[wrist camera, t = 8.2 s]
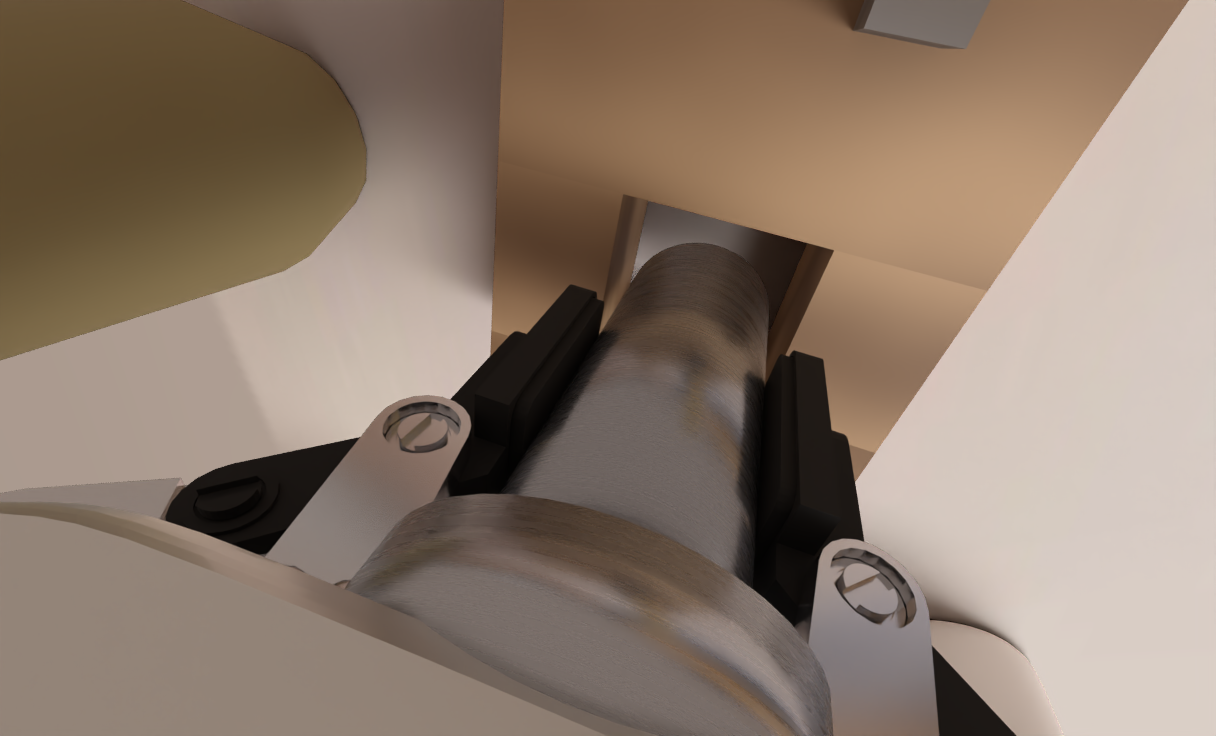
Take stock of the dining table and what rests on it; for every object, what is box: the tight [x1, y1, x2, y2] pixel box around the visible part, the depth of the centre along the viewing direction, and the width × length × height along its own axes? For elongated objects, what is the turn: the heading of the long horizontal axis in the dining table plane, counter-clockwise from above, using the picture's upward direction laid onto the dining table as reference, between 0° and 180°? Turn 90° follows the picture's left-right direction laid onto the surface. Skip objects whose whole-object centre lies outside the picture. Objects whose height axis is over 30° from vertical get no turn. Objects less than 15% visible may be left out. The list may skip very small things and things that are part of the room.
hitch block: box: [491, 0, 1189, 481], centre depth 12 cm, size 16×12×6 cm
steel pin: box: [344, 243, 833, 736], centre depth 9 cm, size 5×5×10 cm
